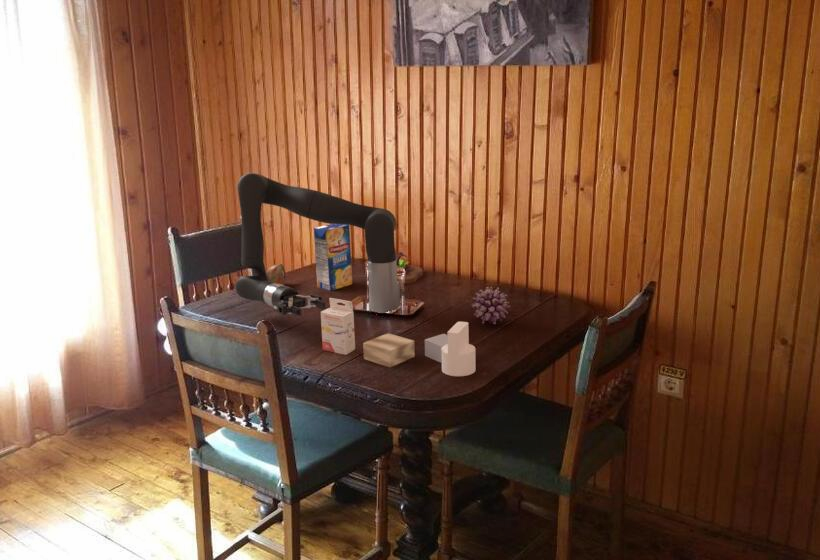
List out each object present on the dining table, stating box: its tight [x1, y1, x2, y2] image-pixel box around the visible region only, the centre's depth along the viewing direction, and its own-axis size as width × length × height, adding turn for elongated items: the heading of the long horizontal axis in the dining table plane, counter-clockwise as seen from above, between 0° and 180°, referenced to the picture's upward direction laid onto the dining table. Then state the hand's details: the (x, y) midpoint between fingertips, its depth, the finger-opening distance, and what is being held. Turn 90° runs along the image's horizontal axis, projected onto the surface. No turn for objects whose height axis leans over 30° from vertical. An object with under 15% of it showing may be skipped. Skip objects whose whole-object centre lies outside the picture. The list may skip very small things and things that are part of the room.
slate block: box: [424, 333, 448, 364], centre depth 226 cm, size 7×7×5 cm
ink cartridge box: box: [320, 297, 356, 355], centre depth 232 cm, size 9×5×15 cm, turn 59°
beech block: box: [362, 332, 416, 368], centre depth 226 cm, size 10×10×5 cm
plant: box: [396, 251, 424, 285], centre depth 304 cm, size 20×20×11 cm
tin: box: [266, 263, 286, 286], centre depth 293 cm, size 15×3×8 cm, turn 168°
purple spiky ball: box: [471, 286, 511, 325], centre depth 250 cm, size 12×12×12 cm
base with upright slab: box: [441, 321, 477, 377], centre depth 216 cm, size 9×9×12 cm
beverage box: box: [313, 223, 353, 292], centre depth 293 cm, size 7×11×22 cm, turn 137°
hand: (312, 309), depth 239 cm, fingers open, 8 cm apart
